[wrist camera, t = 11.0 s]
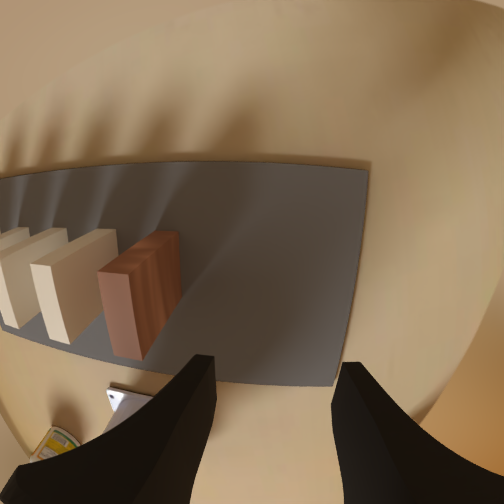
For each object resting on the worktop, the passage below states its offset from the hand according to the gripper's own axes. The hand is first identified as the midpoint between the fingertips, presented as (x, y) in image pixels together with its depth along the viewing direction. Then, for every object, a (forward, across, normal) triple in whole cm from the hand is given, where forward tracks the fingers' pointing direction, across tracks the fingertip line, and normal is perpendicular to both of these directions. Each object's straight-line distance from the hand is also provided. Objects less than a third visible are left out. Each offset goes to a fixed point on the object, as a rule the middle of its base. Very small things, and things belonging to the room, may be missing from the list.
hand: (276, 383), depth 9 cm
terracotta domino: (+10, +7, 0) cm, 12 cm away
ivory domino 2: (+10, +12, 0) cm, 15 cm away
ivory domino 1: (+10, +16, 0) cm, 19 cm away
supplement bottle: (+11, +27, +28) cm, 40 cm away
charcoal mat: (+10, +12, +2) cm, 16 cm away
